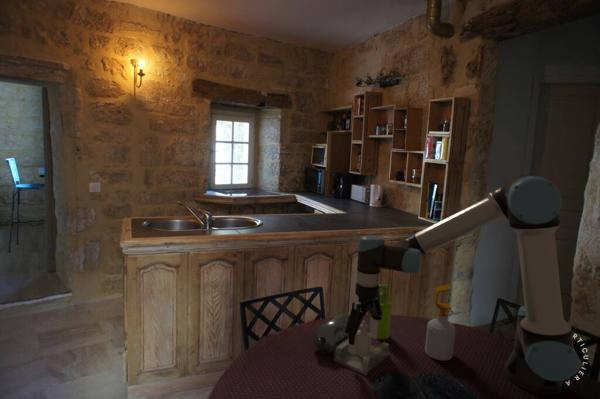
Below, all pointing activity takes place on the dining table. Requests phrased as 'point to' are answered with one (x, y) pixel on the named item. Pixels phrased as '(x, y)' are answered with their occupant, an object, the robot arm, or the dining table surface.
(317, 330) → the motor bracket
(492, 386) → the dining table surface
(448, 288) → the soap bottle
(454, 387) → the dining table surface
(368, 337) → the eye dropper bottle
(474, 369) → the dining table surface
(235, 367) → the dining table surface
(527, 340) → the robot arm
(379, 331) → the soap dispenser
